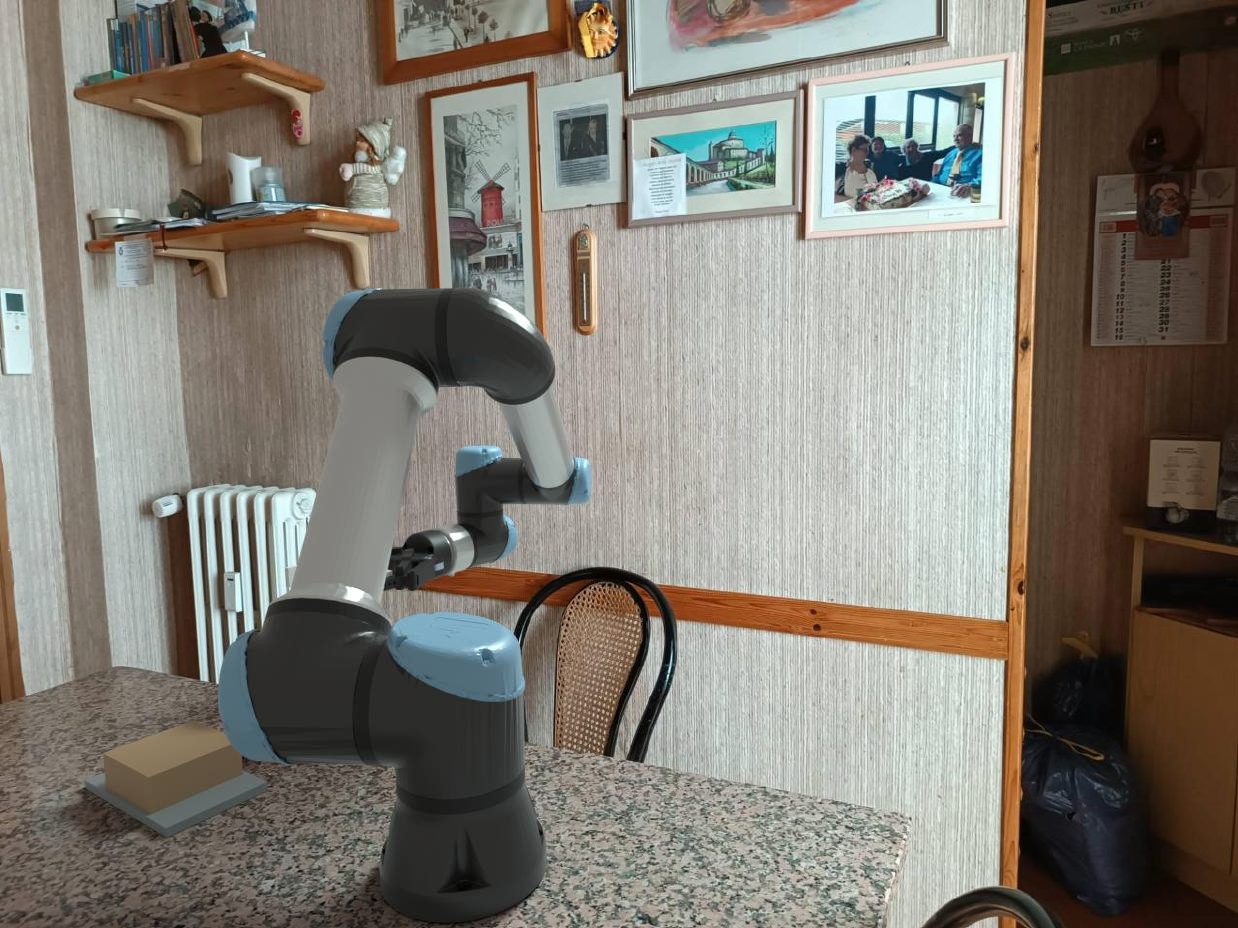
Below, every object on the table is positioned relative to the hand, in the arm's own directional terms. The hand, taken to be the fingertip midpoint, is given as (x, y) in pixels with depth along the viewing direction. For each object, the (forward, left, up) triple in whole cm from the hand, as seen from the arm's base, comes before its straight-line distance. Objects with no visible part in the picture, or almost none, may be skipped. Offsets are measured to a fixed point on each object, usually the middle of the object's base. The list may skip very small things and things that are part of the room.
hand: (317, 584), depth 106 cm
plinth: (-2, +21, -19) cm, 28 cm away
